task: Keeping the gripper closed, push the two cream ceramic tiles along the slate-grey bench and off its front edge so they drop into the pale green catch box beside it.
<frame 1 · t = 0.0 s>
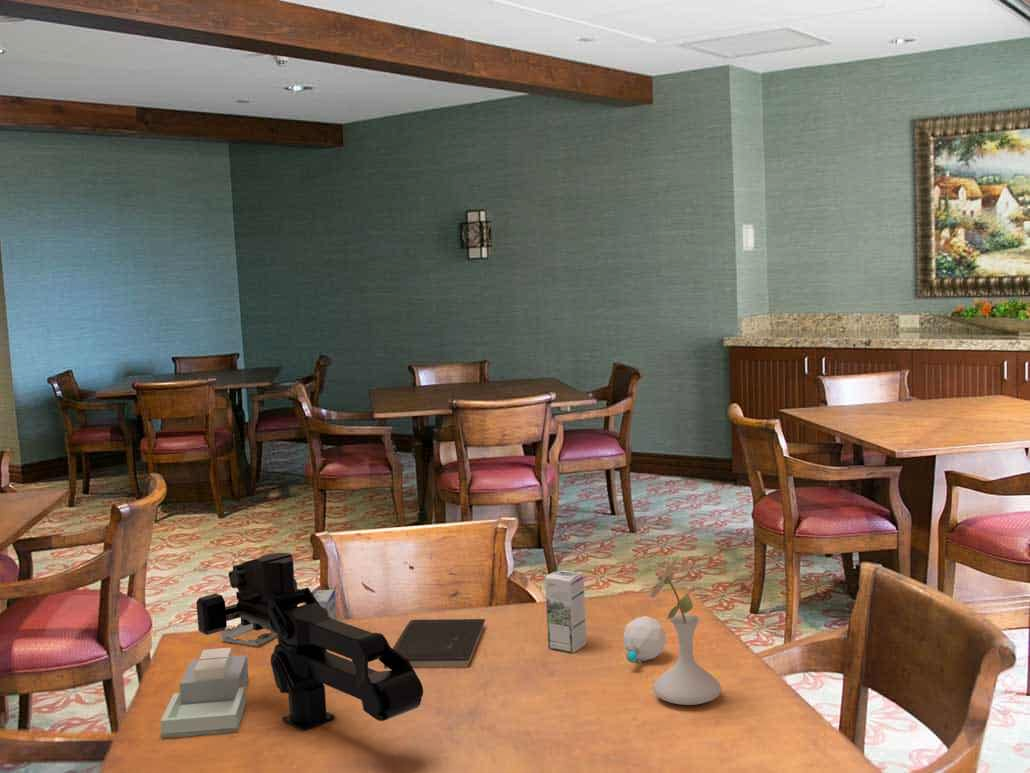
hand: (224, 595, 205), 17 cm above the table, fingers open, 9 cm apart
hardcover book: (437, 650, 222), on the table
medicine box: (324, 637, 231), on the table
syrup box: (567, 648, 218), on the table
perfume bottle: (641, 662, 208), on the table
rear tile: (216, 664, 204), point 4 cm above the table, touching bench
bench: (216, 693, 202), on the table
flower in vase: (684, 700, 190), on the table
front tile: (211, 674, 199), point 4 cm above the table, touching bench
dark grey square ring: (261, 638, 233), on the table
catch box: (205, 720, 190), on the table
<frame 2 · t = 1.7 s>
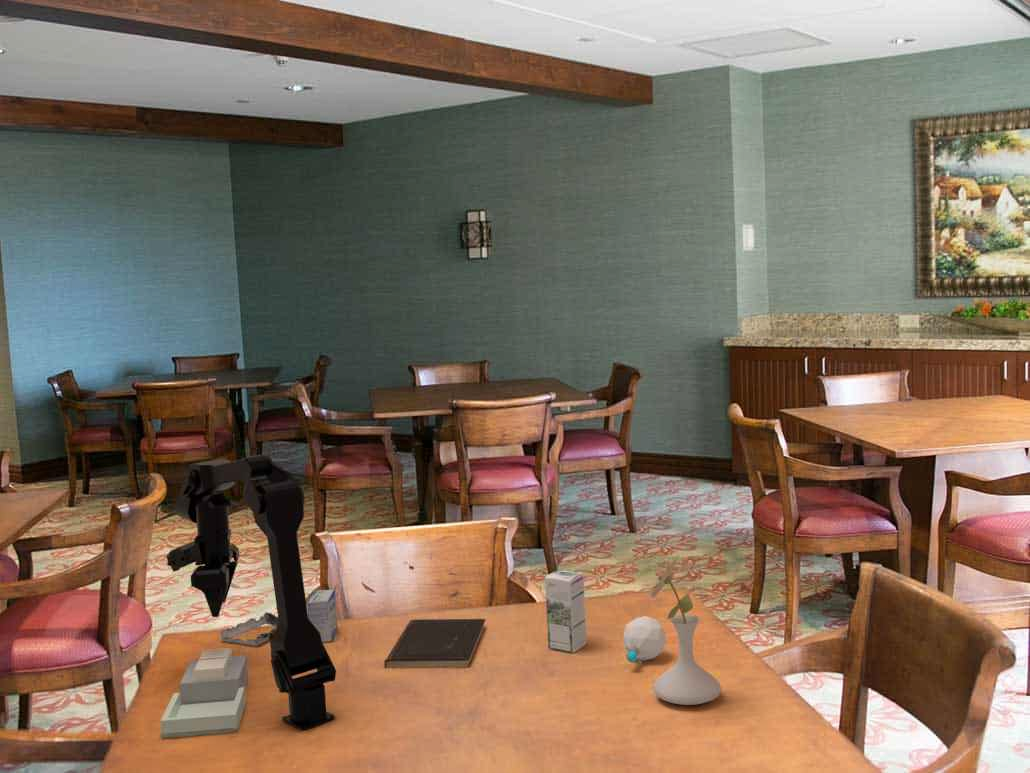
hand: (218, 609, 211), 12 cm above the table, fingers open, 8 cm apart
nothing on the table moved.
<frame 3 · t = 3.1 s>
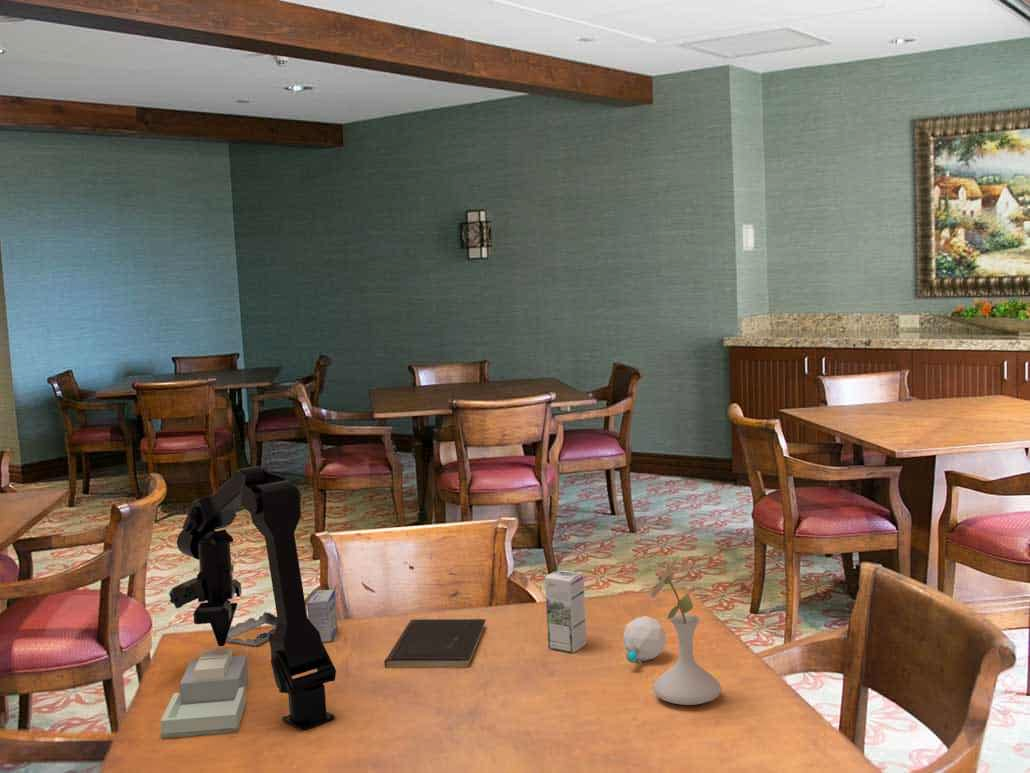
hand: (221, 645, 211), 5 cm above the table, fingers closed
nothing on the table moved.
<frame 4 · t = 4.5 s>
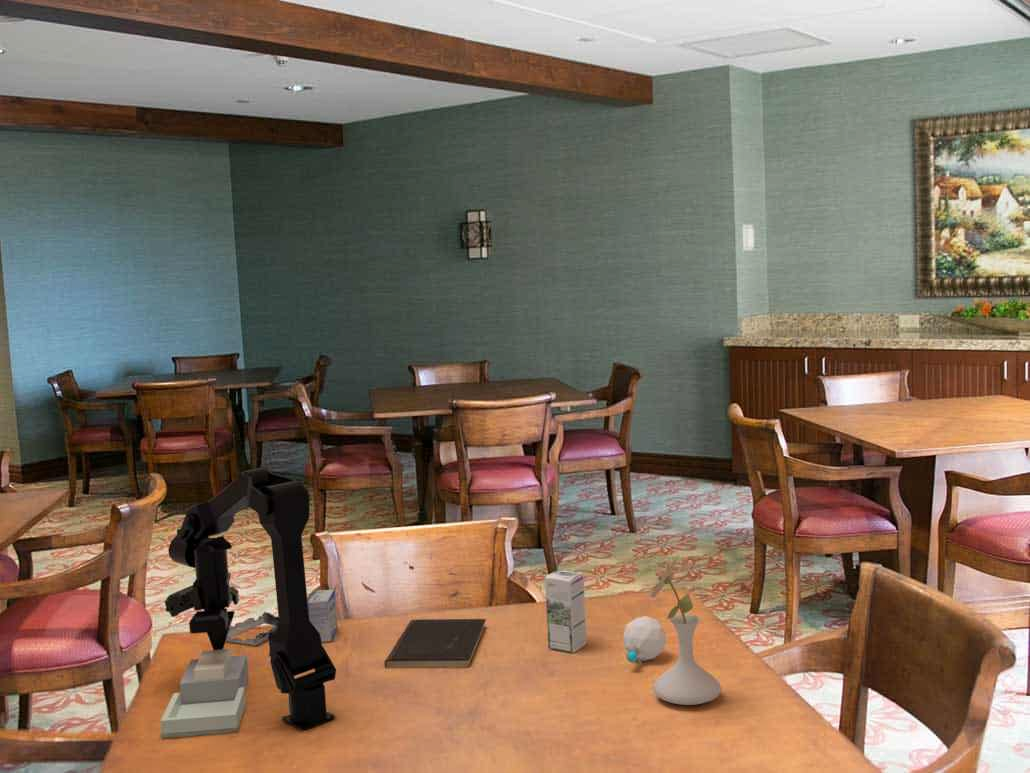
hand: (218, 654, 207), 5 cm above the table, fingers closed
rear tile: (215, 665, 204), point 5 cm above the table, touching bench, front tile, gripper
front tile: (211, 675, 199), point 5 cm above the table, touching rear tile
everything else where it was.
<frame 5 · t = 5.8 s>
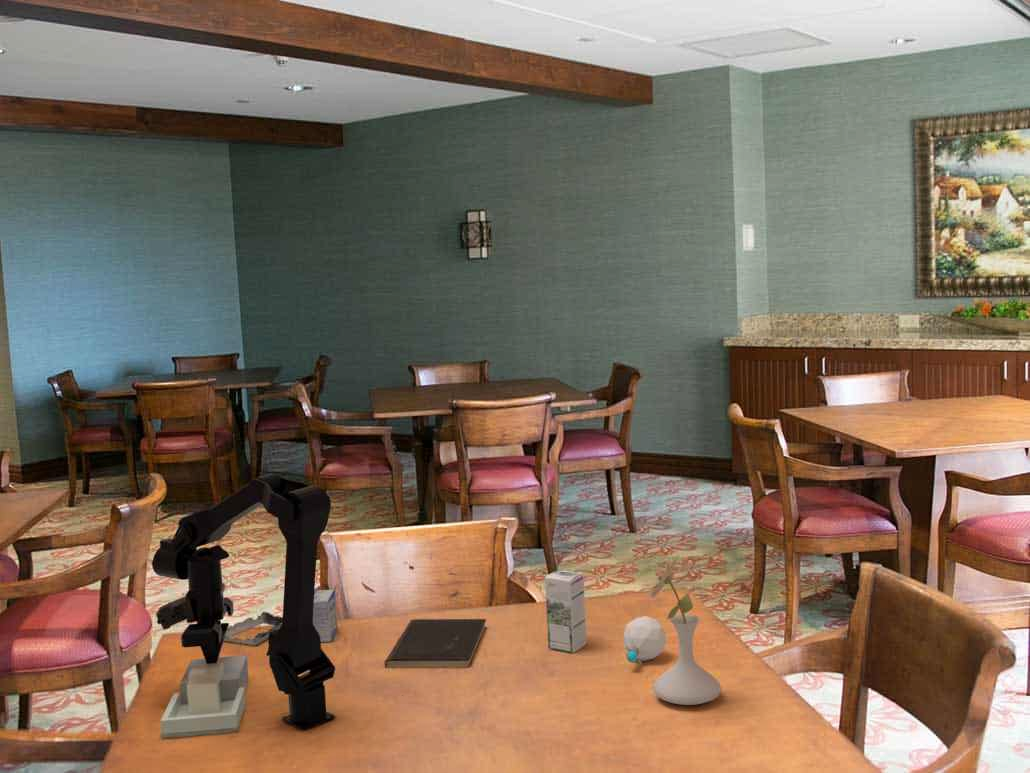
hand: (212, 668, 200), 5 cm above the table, fingers closed
rear tile: (206, 679, 196), point 5 cm above the table, touching gripper
front tile: (205, 693, 193), point 3 cm above the table, tilted 95°, touching catch box
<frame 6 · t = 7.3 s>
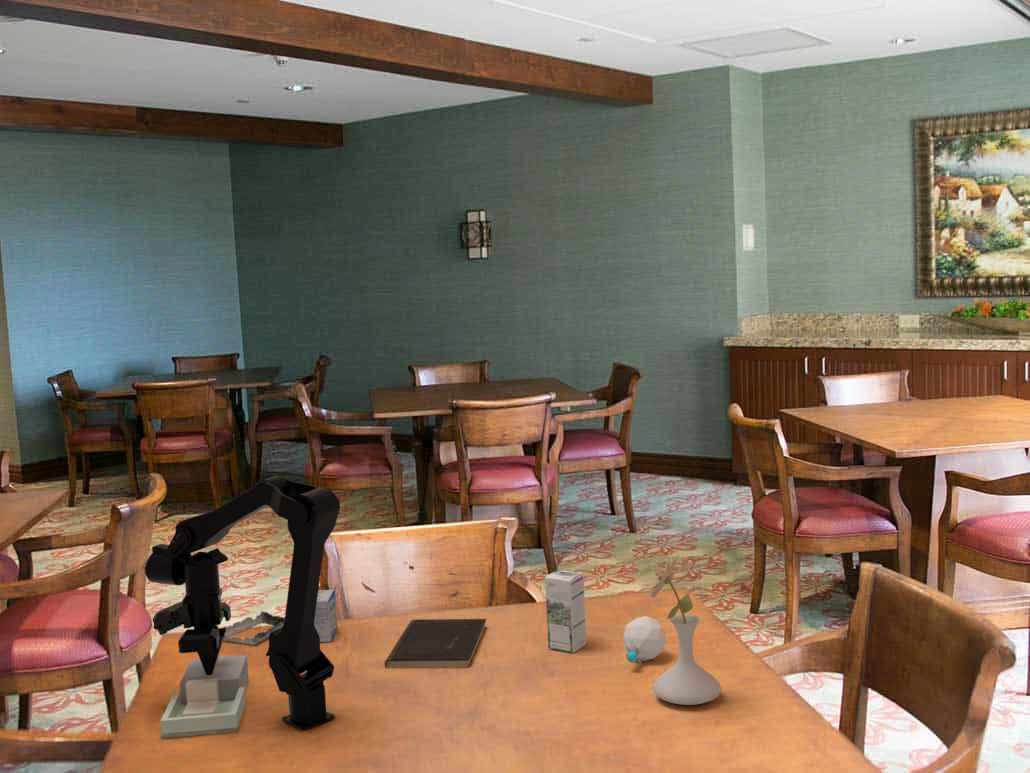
hand: (209, 674, 197), 5 cm above the table, fingers closed
rear tile: (203, 693, 193), point 3 cm above the table, tilted 90°, touching catch box
front tile: (200, 707, 189), point 3 cm above the table, tilted 180°, touching catch box
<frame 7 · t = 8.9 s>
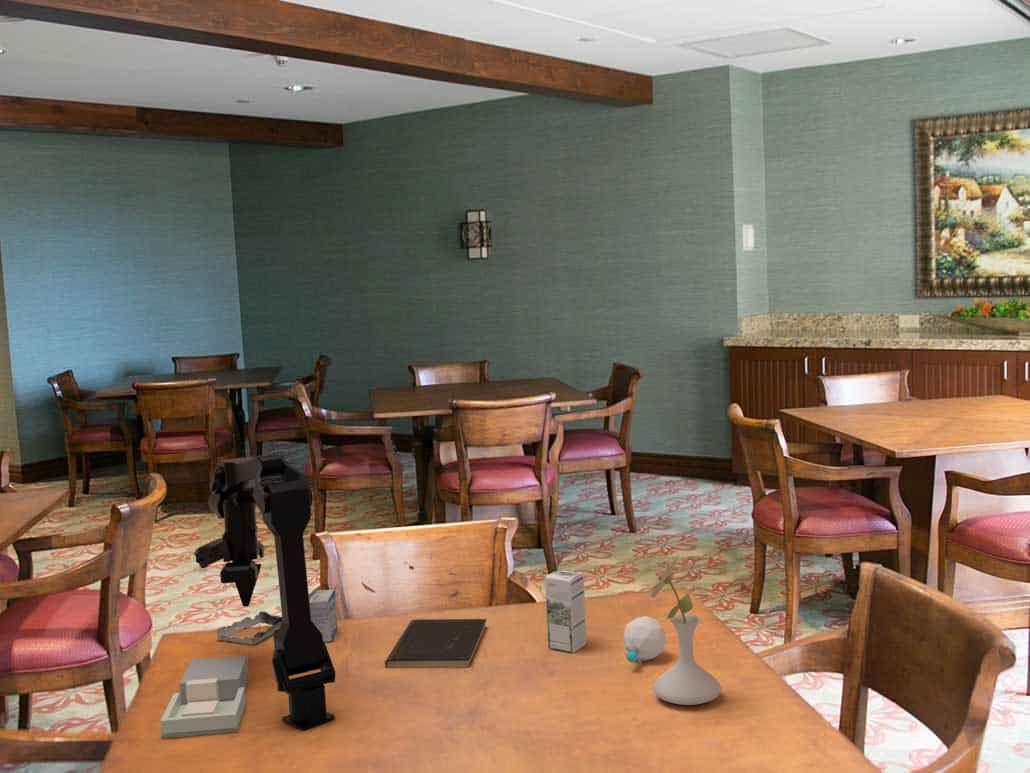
hand: (246, 605, 212), 12 cm above the table, fingers closed
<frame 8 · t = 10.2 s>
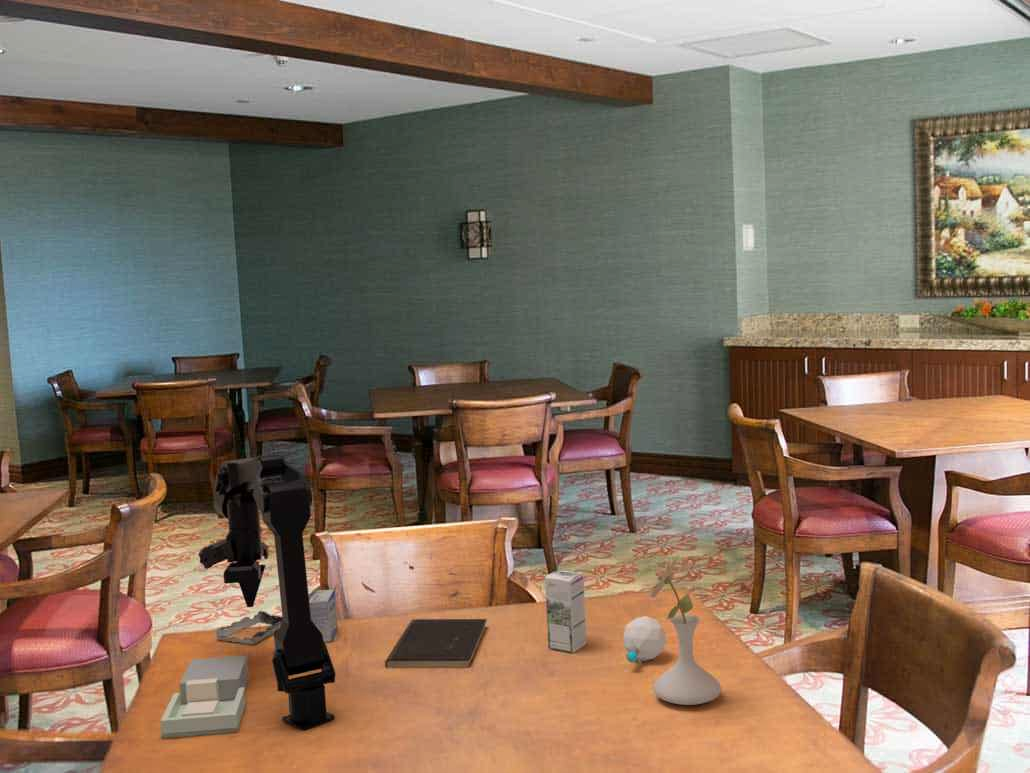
hand: (250, 606, 213), 12 cm above the table, fingers closed
at the end: front tile inside the target area on the catch box (1.2 cm from its centre), point 2.8 cm above the catch box's base; rear tile inside the target area on the catch box (3.9 cm from its centre), point 3.3 cm above the catch box's base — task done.
